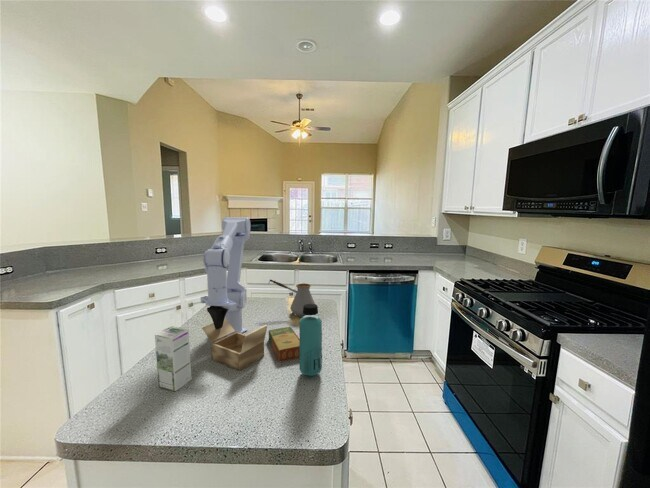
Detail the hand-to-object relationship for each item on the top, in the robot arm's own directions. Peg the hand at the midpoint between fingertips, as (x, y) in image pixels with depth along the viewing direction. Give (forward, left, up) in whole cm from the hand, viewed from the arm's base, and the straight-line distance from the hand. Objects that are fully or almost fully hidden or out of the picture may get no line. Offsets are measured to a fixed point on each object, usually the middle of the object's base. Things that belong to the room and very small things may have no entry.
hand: (218, 328), depth 92 cm
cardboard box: (+8, 0, -8) cm, 11 cm away
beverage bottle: (+32, +4, -8) cm, 34 cm away
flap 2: (+15, 0, 0) cm, 15 cm away
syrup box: (+4, -18, -8) cm, 20 cm away
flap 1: (0, 0, 0) cm, 0 cm away
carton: (+17, +13, -8) cm, 23 cm away
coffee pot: (0, +40, -8) cm, 40 cm away
